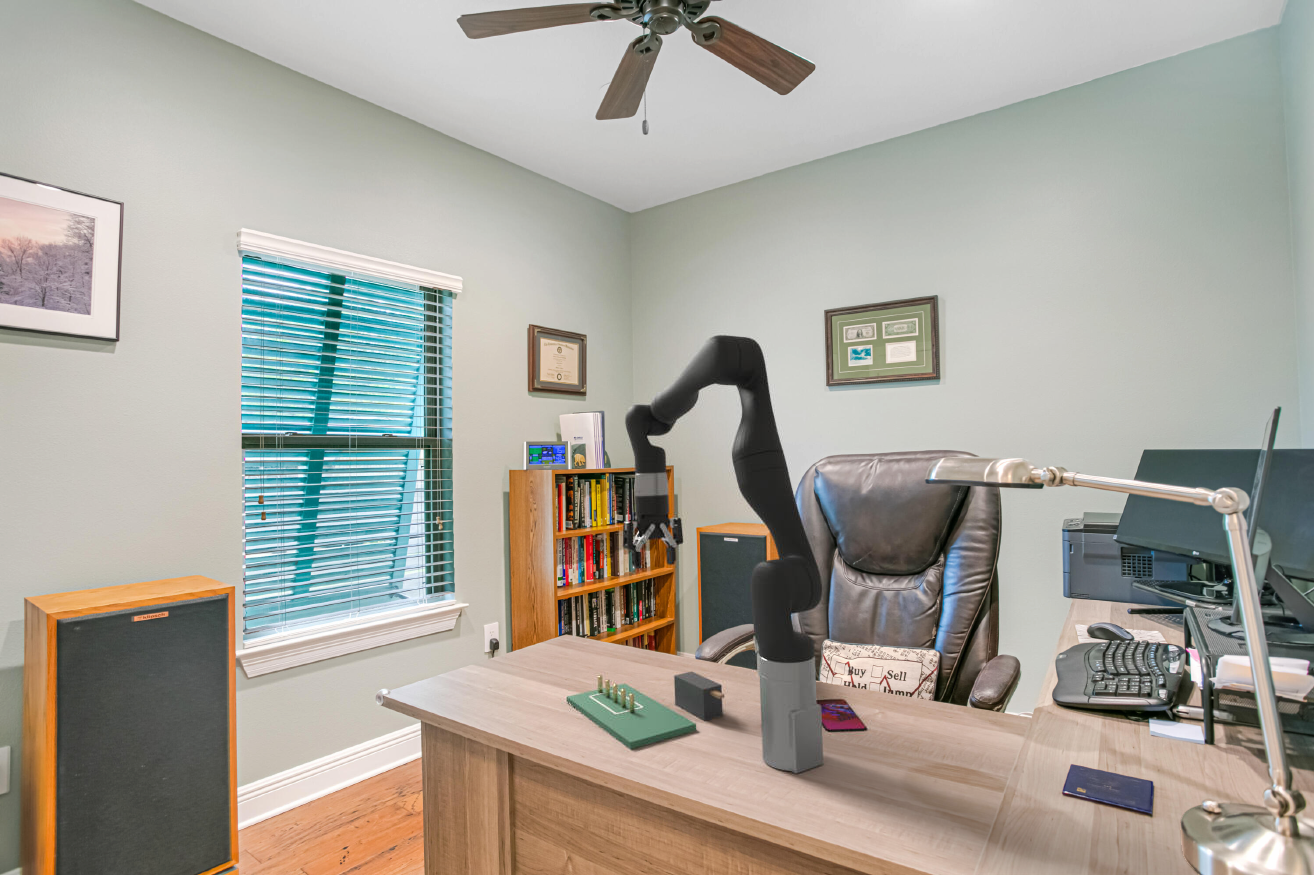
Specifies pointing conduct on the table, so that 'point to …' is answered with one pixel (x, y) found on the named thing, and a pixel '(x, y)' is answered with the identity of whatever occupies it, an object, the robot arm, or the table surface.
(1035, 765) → the table surface
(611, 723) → the header board
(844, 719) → the smartphone
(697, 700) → the plug housing
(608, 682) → the header pins
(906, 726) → the table surface
